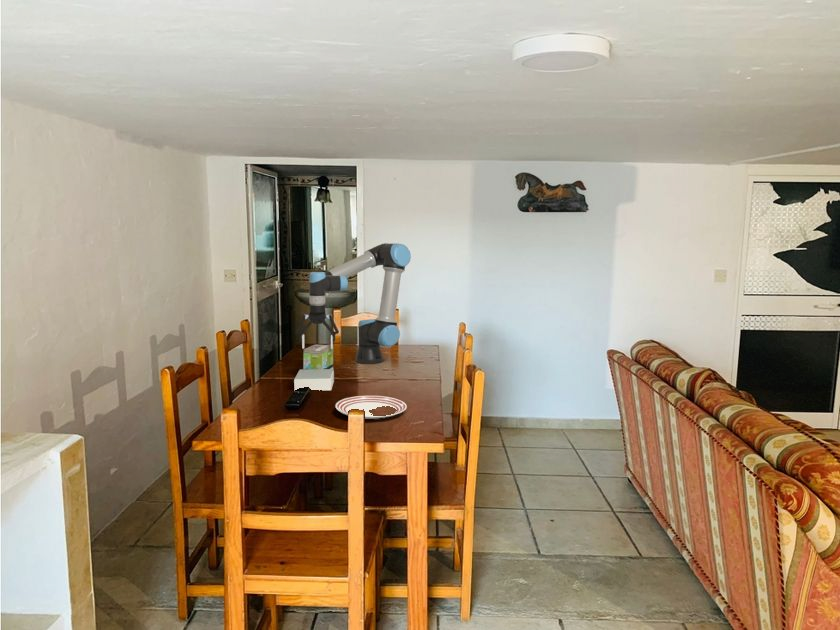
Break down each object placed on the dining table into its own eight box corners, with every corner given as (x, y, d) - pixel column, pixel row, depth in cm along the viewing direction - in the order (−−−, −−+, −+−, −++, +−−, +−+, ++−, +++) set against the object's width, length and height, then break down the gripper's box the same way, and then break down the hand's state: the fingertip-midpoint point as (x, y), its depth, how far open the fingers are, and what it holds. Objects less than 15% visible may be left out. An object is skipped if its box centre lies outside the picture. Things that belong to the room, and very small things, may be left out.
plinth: (333, 381, 268) (333, 368, 268) (331, 390, 253) (330, 377, 252) (299, 381, 267) (299, 369, 266) (294, 390, 251) (294, 377, 251)
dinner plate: (406, 402, 235) (406, 394, 235) (407, 424, 208) (407, 415, 208) (339, 402, 234) (339, 394, 234) (331, 424, 207) (331, 415, 207)
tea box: (322, 381, 269) (322, 350, 267) (302, 379, 271) (302, 349, 269) (334, 373, 284) (333, 344, 282) (314, 372, 286) (314, 343, 284)
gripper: (289, 305, 268) (290, 349, 271) (343, 305, 270) (343, 349, 273) (292, 303, 276) (292, 346, 278) (344, 303, 278) (344, 346, 280)
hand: (317, 348), depth 276 cm, fingers open, 13 cm apart
